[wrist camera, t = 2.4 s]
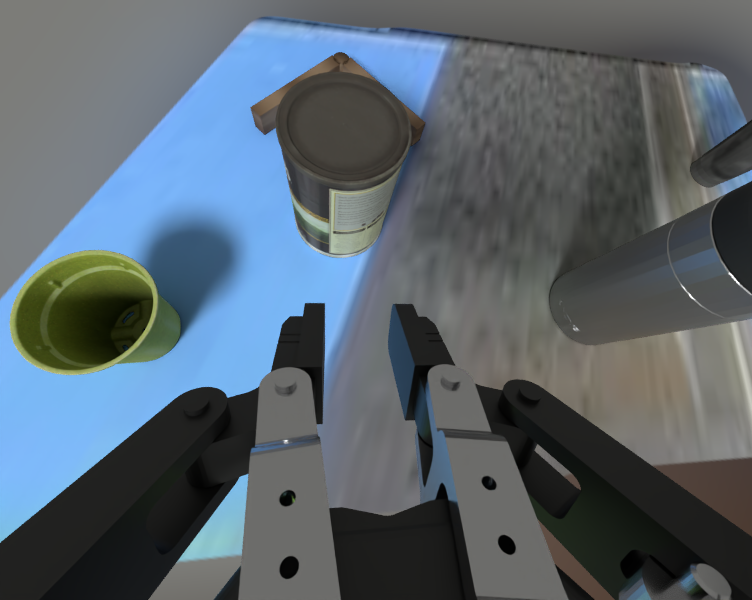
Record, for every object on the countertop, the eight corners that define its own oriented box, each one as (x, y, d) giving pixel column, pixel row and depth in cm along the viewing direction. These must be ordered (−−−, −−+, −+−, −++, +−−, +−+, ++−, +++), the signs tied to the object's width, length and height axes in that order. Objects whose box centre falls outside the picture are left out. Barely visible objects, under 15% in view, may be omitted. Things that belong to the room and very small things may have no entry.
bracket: (420, 146, 42) (426, 130, 39) (255, 134, 39) (249, 115, 37) (414, 80, 45) (420, 61, 42) (261, 64, 42) (256, 42, 39)
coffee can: (283, 246, 36) (256, 161, 22) (308, 171, 39) (296, 55, 25) (373, 268, 37) (399, 198, 23) (390, 192, 40) (422, 91, 26)
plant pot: (145, 267, 33) (84, 227, 25) (220, 317, 33) (184, 293, 25) (72, 343, 30) (-25, 326, 22) (153, 398, 30) (86, 402, 22)
